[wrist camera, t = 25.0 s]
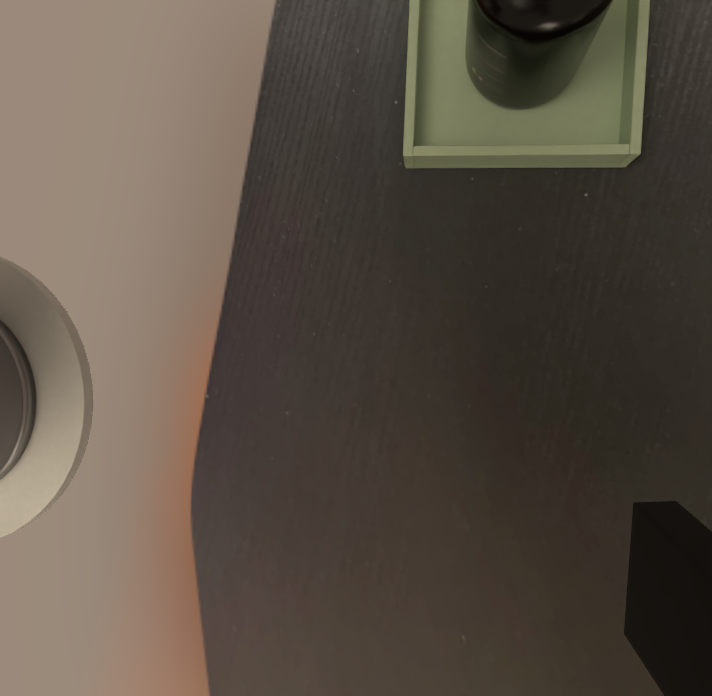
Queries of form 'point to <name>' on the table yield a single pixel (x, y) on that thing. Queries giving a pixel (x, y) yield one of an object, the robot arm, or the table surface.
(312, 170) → the table surface
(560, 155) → the tray
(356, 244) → the table surface
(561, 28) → the supplement bottle
